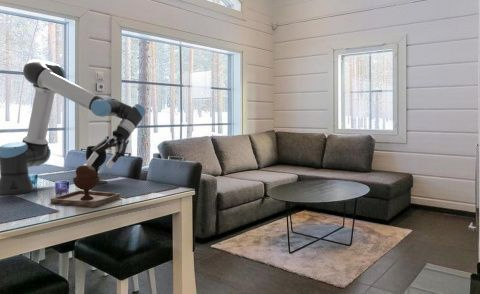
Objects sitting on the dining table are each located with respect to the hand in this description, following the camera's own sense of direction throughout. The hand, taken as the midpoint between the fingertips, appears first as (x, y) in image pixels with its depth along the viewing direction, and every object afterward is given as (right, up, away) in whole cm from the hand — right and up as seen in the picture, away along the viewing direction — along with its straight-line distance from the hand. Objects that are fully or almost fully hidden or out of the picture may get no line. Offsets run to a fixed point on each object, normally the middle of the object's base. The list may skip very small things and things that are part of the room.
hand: (97, 165), depth 168 cm
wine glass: (-15, -11, +38) cm, 42 cm away
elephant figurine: (-24, -10, +51) cm, 57 cm away
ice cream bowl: (-4, -15, -3) cm, 15 cm away
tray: (-4, -15, -3) cm, 16 cm away
